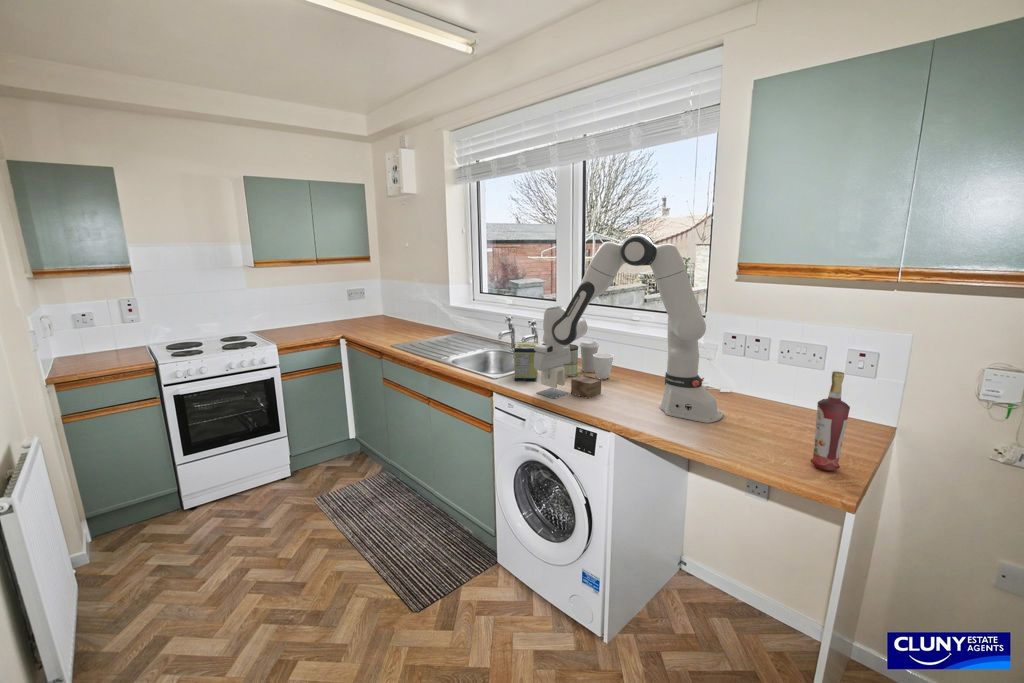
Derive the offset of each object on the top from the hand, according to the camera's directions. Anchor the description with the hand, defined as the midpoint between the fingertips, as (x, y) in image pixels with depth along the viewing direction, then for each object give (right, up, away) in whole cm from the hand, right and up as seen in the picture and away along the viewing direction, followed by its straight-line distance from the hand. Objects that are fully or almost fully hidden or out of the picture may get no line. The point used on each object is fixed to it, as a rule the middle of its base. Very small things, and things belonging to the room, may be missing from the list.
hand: (552, 376), depth 194 cm
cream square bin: (0, -3, +1) cm, 4 cm away
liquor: (+71, -21, -65) cm, 98 cm away
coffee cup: (+21, 0, +37) cm, 42 cm away
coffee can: (+10, -1, +31) cm, 33 cm away
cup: (+26, -3, +25) cm, 36 cm away
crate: (+14, -7, +1) cm, 16 cm away
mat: (0, -7, +2) cm, 8 cm away
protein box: (-10, -2, +27) cm, 29 cm away
